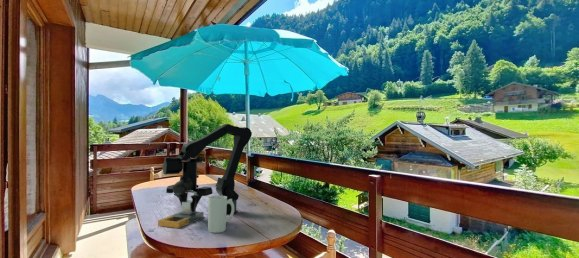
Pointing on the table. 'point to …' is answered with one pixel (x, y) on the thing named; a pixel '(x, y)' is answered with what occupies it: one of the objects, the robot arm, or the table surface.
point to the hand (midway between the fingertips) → (188, 210)
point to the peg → (187, 208)
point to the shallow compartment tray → (179, 219)
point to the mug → (218, 213)
